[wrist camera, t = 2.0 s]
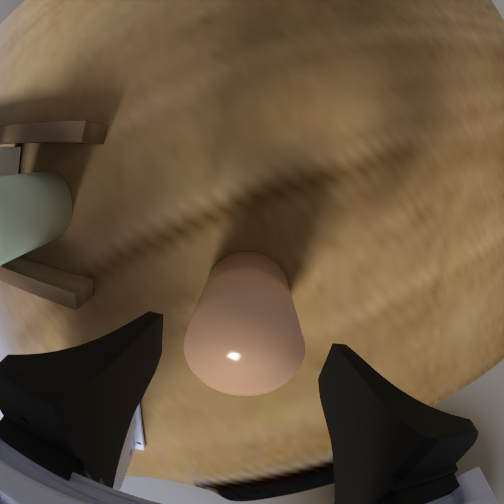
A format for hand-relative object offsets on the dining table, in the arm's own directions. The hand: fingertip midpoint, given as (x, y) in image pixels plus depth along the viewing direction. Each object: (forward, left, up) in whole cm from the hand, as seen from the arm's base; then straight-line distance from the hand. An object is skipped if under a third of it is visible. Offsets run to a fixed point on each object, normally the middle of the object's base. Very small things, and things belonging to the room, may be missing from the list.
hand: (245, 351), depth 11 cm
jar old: (+3, +15, -6) cm, 17 cm away
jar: (0, 0, -6) cm, 6 cm away
